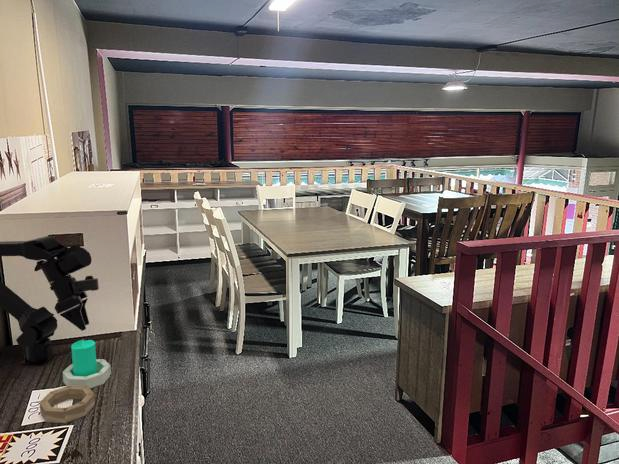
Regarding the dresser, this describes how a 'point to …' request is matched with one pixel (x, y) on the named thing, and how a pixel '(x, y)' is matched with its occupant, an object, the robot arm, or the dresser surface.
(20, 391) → the dresser surface
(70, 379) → the socket
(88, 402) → the socket
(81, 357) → the candle
